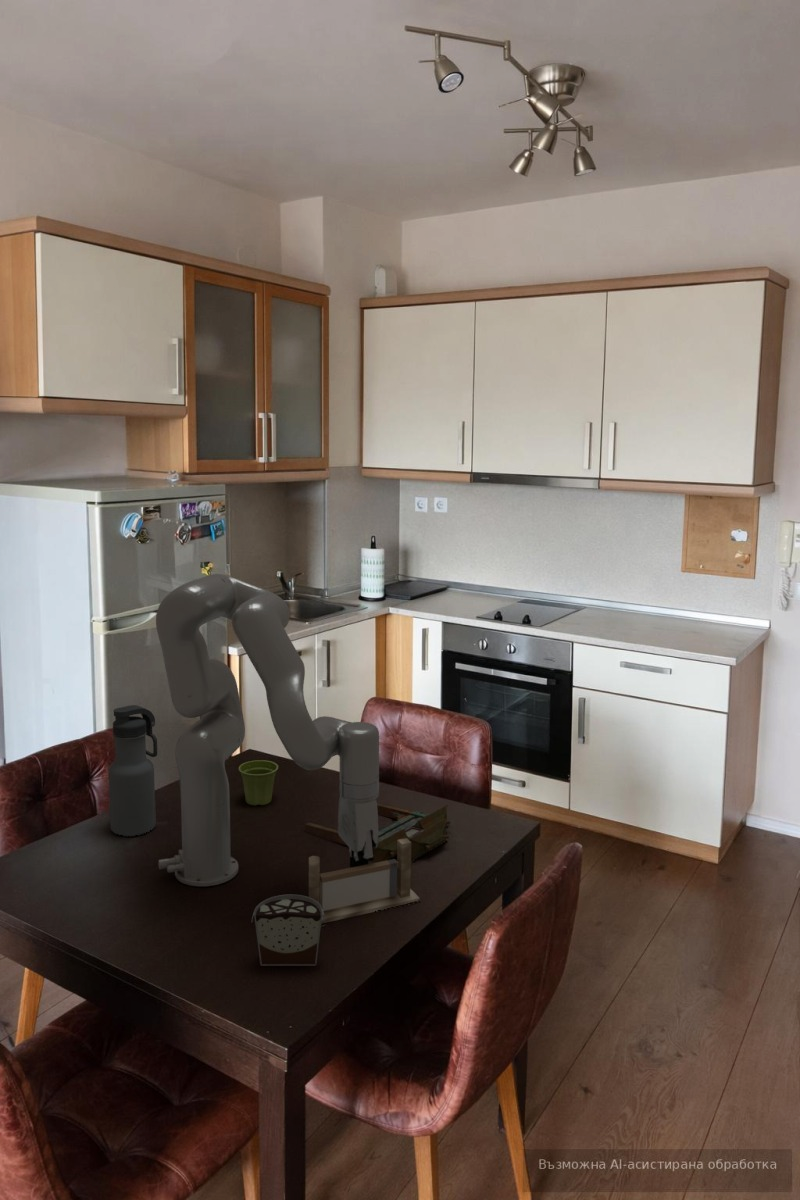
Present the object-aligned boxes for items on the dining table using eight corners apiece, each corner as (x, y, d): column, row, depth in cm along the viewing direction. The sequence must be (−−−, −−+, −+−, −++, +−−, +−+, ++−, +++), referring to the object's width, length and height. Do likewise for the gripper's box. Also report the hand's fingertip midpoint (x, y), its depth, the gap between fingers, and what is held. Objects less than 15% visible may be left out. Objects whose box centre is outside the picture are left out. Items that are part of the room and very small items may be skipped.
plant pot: (286, 799, 224) (286, 765, 223) (260, 812, 216) (260, 777, 215) (256, 790, 229) (256, 757, 227) (230, 803, 221) (230, 768, 220)
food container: (326, 945, 161) (327, 892, 160) (325, 965, 155) (325, 911, 153) (256, 945, 161) (255, 892, 159) (251, 965, 155) (250, 911, 153)
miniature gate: (369, 786, 224) (473, 810, 206) (370, 808, 225) (473, 834, 207) (292, 822, 203) (400, 852, 185) (293, 846, 204) (401, 878, 186)
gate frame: (297, 928, 166) (297, 868, 164) (289, 915, 171) (289, 856, 169) (419, 901, 177) (420, 844, 175) (408, 890, 181) (409, 833, 179)
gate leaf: (321, 911, 170) (321, 877, 169) (318, 907, 171) (318, 873, 170) (397, 895, 176) (398, 862, 175) (394, 891, 178) (394, 858, 177)
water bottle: (143, 815, 213) (139, 698, 208) (165, 828, 207) (162, 708, 202) (102, 827, 206) (97, 707, 201) (124, 842, 200) (119, 718, 194)
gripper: (327, 777, 181) (327, 864, 184) (355, 804, 168) (355, 898, 171) (362, 771, 184) (362, 857, 187) (393, 798, 171) (392, 890, 174)
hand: (359, 876), depth 179 cm, fingers closed
